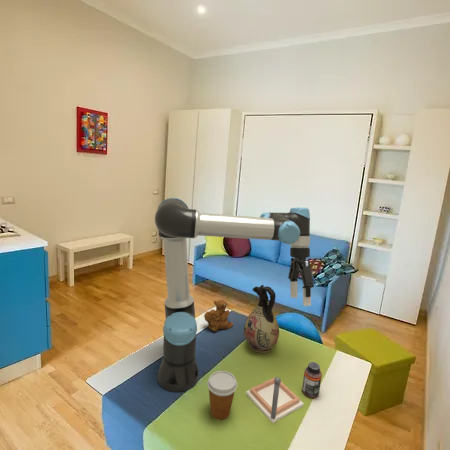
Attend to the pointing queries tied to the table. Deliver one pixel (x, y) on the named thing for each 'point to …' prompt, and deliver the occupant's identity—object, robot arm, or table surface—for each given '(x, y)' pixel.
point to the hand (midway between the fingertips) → (300, 301)
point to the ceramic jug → (262, 322)
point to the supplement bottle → (312, 380)
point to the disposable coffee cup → (221, 393)
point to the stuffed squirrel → (218, 316)
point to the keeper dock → (269, 400)
